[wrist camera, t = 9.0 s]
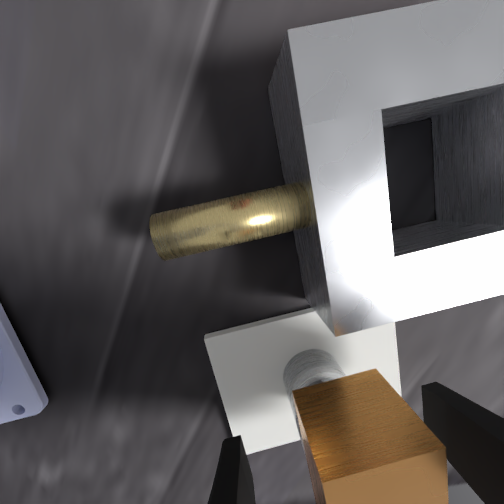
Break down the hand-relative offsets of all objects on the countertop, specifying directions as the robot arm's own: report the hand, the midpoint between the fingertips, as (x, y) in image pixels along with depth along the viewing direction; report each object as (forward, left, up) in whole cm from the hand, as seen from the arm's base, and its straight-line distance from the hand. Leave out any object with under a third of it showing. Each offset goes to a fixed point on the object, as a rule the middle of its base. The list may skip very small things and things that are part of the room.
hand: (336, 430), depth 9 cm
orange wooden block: (0, 0, -3) cm, 3 cm away
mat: (0, 0, -3) cm, 3 cm away
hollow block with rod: (+3, +9, -3) cm, 9 cm away
